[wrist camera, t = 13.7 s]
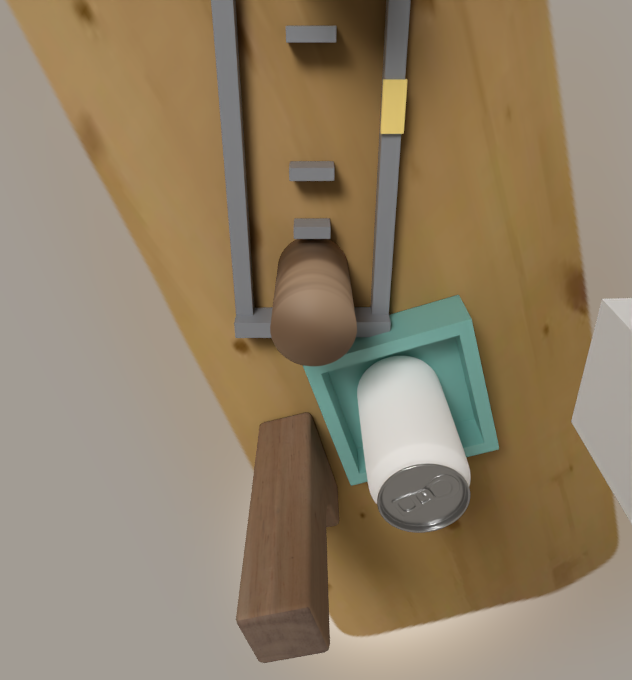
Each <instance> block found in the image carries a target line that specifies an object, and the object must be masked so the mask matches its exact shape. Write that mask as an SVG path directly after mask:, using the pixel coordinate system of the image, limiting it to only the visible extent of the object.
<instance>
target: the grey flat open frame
mask: <svg viewBox="0 0 632 680" xmlns="http://www.w3.org/2000/svg"><path fill="white" fill-rule="evenodd" d="M410 1H411V0H386V16H385V36H384V55H383V75H382V94H381V113H380V133H379V152H378V172H377V191H376V210H375V230H374V249H373V269H372V288H371V307H354V310H355V316H356V323H357V333H356V337H372V336H375V335H379V334H382V333H386V332H389V331H390V325H391V321H390V318H389V302H390V288H391V273H392V259H393V245H394V230H395V216H396V202H397V187H398V173H399V159H400V144H401V134H404V122H405V108H406V94H407V79H405V73H406V58H407V44H408V30H409V15H410ZM211 5H212V17H213V30H214V42H215V55H216V67H217V80H218V93H219V105H220V118H221V130H222V143H223V155H224V168H225V180H226V193H227V205H228V218H229V230H230V243H231V255H232V268H233V280H234V293H235V306H236V318H235V322H234V325H235V337H236V338H271V333H270V325H271V317H272V309H273V308H254V294H253V278H252V262H251V245H250V229H249V213H248V197H247V180H246V164H245V148H244V132H243V115H242V99H241V83H240V67H239V51H238V34H237V18H236V2H235V0H211ZM286 42H336V26H286ZM289 178H290V181H334V162H333V161H292V162H290V166H289ZM294 239H330V218H329V219H294Z"/></svg>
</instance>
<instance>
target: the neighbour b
mask: <svg viewBox="0 0 632 680" xmlns="http://www.w3.org/2000/svg"><path fill="white" fill-rule="evenodd" d="M270 333H271V338H272V341H273V343H274V345H275V347H276V348H277V350H278V351H279V352H280V353H281V354H282V355H283V356H284V357H286V358H287V359H289V360H290V361H292V362H294V363H297V364H300V365H304V366H323V365H327V364H330V363H333V362H335V361H337V360H338V359H340V358H341V357H343V356H344V355H345V354H346V353H347V352H348V351H349V349H350V348H351V347H352V345H353V343H354V341H355V338H356V333H357V323H356V316H355V310H354V303H353V296H352V290H351V283H350V276H349V270H348V263H347V259H346V256H345V254H344V253H343V251H342V250H341V248H340V247H339V246H338V245H337V244H336V243H334V242H333V241H331V240H329V239H297V240H295V241H293V242H292V243H290V244H289V245H288V246H287V247H286V248H285V249H284V251H283V252H282V254H281V256H280V259H279V262H278V270H277V278H276V286H275V294H274V301H273V309H272V317H271V325H270Z"/></svg>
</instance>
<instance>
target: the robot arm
mask: <svg viewBox="0 0 632 680" xmlns="http://www.w3.org/2000/svg"><path fill="white" fill-rule="evenodd" d="M571 422H572V424H573V426H574V427H575V429H576V431H577V432H578V434H579V436H580V437H581V439H582V441H583V443H584V444H585V446H586V448H587V449H588V451H589V453H590V454H591V456H592V458H593V459H594V461H595V463H596V465H597V466H598V468H599V470H600V471H601V473H602V475H603V476H604V478H605V480H606V482H607V483H608V485H609V487H610V488H611V490H612V492H613V493H614V495H615V497H616V499H617V500H618V502H619V504H620V505H621V507H622V509H623V510H624V512H625V514H626V516H627V517H628V519H629V521H630V522H631V524H632V298H616V299H602V302H601V305H600V309H599V313H598V317H597V322H596V325H595V329H594V333H593V337H592V341H591V345H590V349H589V353H588V357H587V361H586V365H585V369H584V373H583V377H582V381H581V385H580V389H579V393H578V397H577V401H576V405H575V409H574V413H573V417H572V421H571Z"/></svg>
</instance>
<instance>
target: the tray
mask: <svg viewBox="0 0 632 680" xmlns="http://www.w3.org/2000/svg"><path fill="white" fill-rule="evenodd" d="M389 318H390V321H391V325H390V331H389V332H386V333H382V334H379V335H375V336H372V337H356V338H355V341H354V343H353V345H352V347H351V348H350V349H349V351H348V352H347V353H346V354H345V355H344V356H343V357H341V358H340V359H338V360H337V361H335V362H333V363H330V364H327V365H323V366H304V365H303V367H304V370H305V372H306V375H307V377H308V380H309V382H310V385H311V387H312V390H313V392H314V395H315V397H316V400H317V402H318V405H319V407H320V410H321V412H322V415H323V417H324V420H325V422H326V425H327V427H328V430H329V432H330V435H331V437H332V440H333V442H334V445H335V447H336V450H337V452H338V455H339V457H340V460H341V462H342V465H343V467H344V470H345V472H346V475H347V477H348V480H349V482H350V485H351V486H352V485H356V484H360V483H364V482H368V480H367V473H366V466H365V458H364V450H363V442H362V434H361V425H360V417H359V408H358V399H357V388H358V384H359V381H360V379H361V377H362V375H363V374H364V372H365V371H366V370H367V369H368V368H369V367H370V366H372V365H373V364H374V363H376V362H378V361H380V360H382V359H385V358H388V357H392V356H410V357H414V358H417V359H420V360H422V361H424V362H425V363H426V364H428V365H429V366H430V367H431V368H432V369H433V370H434V372H435V373H436V375H437V377H438V379H439V381H440V384H441V387H442V390H443V392H444V395H445V398H446V401H447V403H448V406H449V409H450V412H451V415H452V418H453V421H454V423H455V426H456V429H457V432H458V435H459V438H460V441H461V444H462V446H463V449H464V452H465V455H466V457H469V456H474V455H478V454H482V453H486V452H490V451H494V450H498V449H499V445H498V440H497V436H496V431H495V426H494V422H493V417H492V412H491V408H490V403H489V398H488V394H487V389H486V384H485V380H484V375H483V370H482V366H481V361H480V356H479V352H478V347H477V342H476V338H475V333H474V328H473V324H472V319H471V317H470V315H469V313H468V311H467V310H466V308H465V306H464V304H463V302H462V300H461V298H460V296H459V295H456V296H453V297H449V298H446V299H442V300H439V301H436V302H432V303H429V304H425V305H422V306H418V307H415V308H411V309H408V310H404V311H401V312H397V313H394V314H391V315H389Z"/></svg>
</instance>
